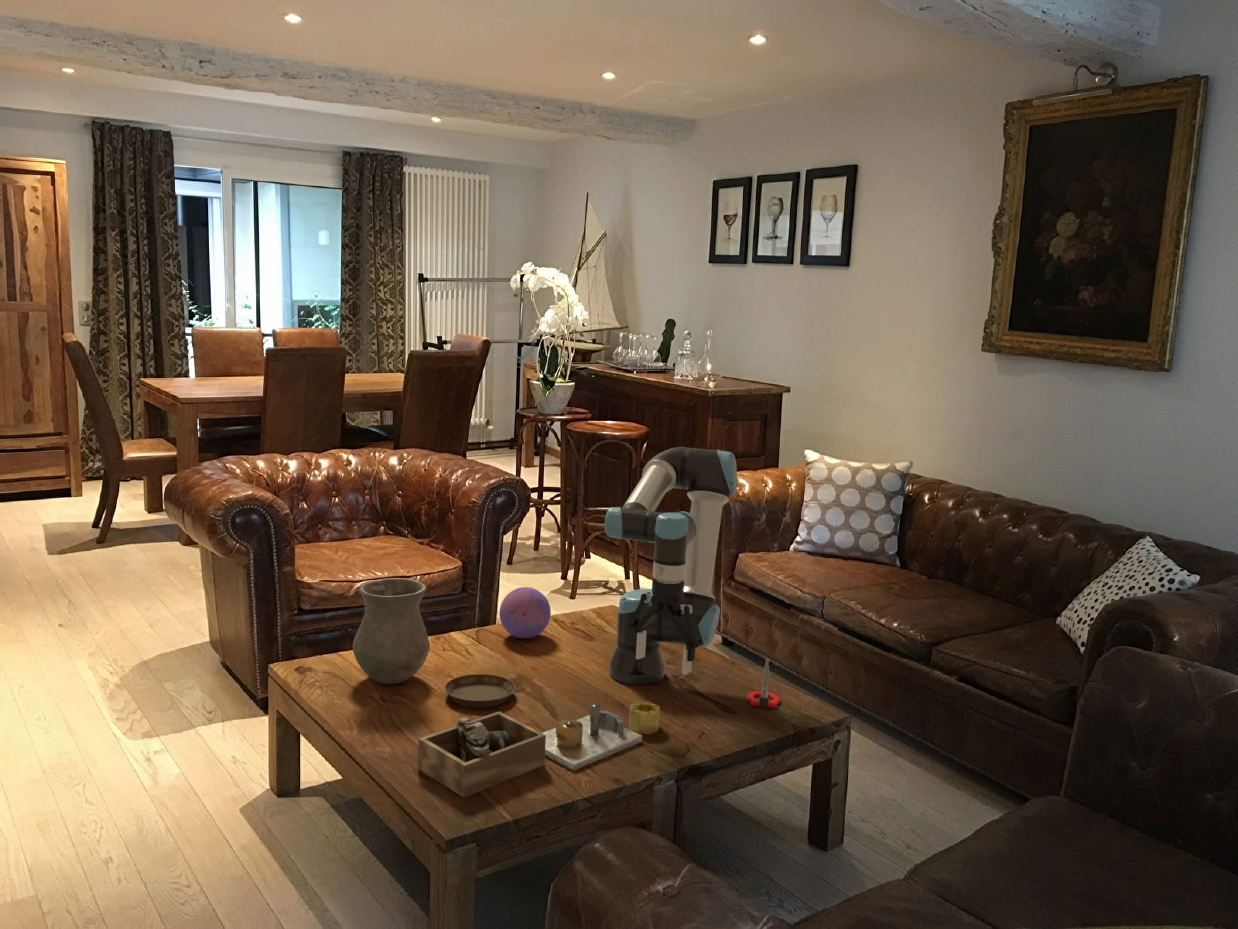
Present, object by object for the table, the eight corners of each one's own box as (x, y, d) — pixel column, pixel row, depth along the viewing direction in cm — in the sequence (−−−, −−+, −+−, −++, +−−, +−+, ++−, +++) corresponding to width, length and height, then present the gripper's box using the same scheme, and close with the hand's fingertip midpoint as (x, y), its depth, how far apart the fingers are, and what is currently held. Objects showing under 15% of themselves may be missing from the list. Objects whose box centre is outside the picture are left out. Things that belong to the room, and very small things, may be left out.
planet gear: (623, 726, 245) (624, 707, 244) (643, 718, 250) (644, 699, 249) (644, 736, 240) (645, 716, 239) (664, 728, 245) (665, 708, 244)
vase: (337, 684, 261) (337, 590, 256) (381, 660, 278) (382, 572, 274) (402, 700, 253) (404, 603, 249) (443, 674, 271) (445, 583, 266)
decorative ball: (492, 642, 296) (494, 593, 293) (506, 626, 310) (508, 578, 308) (542, 648, 293) (544, 598, 291) (554, 631, 308) (556, 583, 305)
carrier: (525, 745, 232) (526, 710, 231) (594, 719, 248) (595, 686, 247) (573, 770, 222) (574, 734, 220) (642, 741, 237) (644, 707, 236)
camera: (519, 777, 215) (520, 732, 214) (472, 786, 211) (472, 740, 210) (496, 748, 230) (496, 705, 228) (451, 755, 225) (451, 712, 224)
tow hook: (747, 694, 270) (746, 706, 261) (751, 646, 268) (750, 657, 259) (779, 697, 268) (779, 710, 259) (783, 650, 267) (784, 661, 258)
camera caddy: (418, 769, 219) (418, 738, 217) (498, 740, 234) (499, 711, 233) (463, 797, 208) (464, 765, 207) (544, 765, 224) (545, 735, 222)
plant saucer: (458, 680, 268) (458, 669, 268) (523, 688, 265) (523, 677, 264) (434, 707, 251) (434, 695, 250) (503, 716, 248) (503, 704, 247)
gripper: (616, 571, 244) (612, 655, 247) (703, 594, 229) (697, 684, 232) (636, 565, 249) (631, 648, 253) (722, 588, 234) (715, 675, 238)
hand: (663, 665), depth 243 cm, fingers open, 13 cm apart
